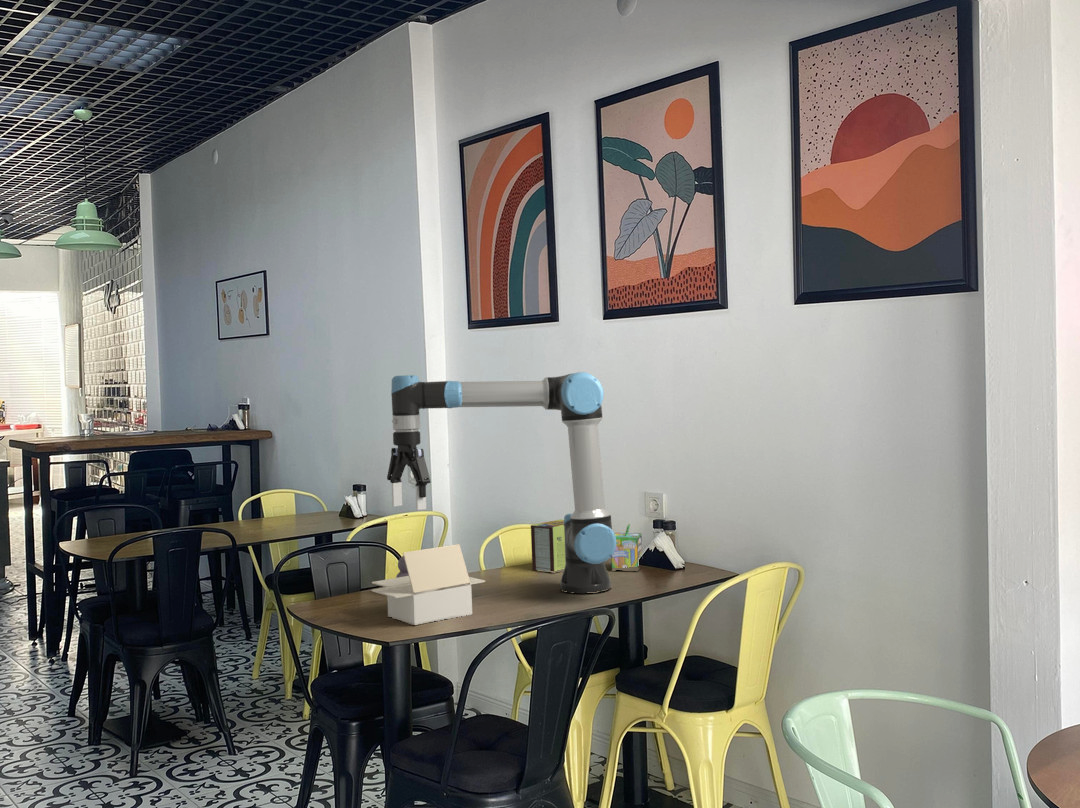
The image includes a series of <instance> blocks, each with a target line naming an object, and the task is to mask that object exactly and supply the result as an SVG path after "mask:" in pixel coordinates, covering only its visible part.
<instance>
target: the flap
mask: <svg viewBox="0 0 1080 808" xmlns="http://www.w3.org/2000/svg"><path fill="white" fill-rule="evenodd" d="M402 555H403V556H404V559H405V563H406V567H407V571H408V575H409V579H410V583H411V586H412V590H413V593H417V592H423V591H428V590H434V589H439V588H445V587H450V586H456V585H461V584H467V583H470V580H469V577H470V576H469V573H468V570H467V569H468V568H467V566H466V562H465V559H464V554H463V552H462V548H461V545H460V544H459V543H458V544H452V545H445V546H444V545H443V546H438V547H437V546H436V547H432V548H424V549H418V550H417V549H416V550H411V551H410V550H409V551H405V552H402Z"/></svg>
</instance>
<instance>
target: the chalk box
mask: <svg viewBox="0 0 1080 808" xmlns="http://www.w3.org/2000/svg"><path fill="white" fill-rule="evenodd" d="M630 526H631V524H630V523H629V524H628V525H627V526H626V530H625V532H614V534H615V537H616V549H615V551H614V553H613V555H612V556H611V557H610V558H611V569H612V568H625V567H626V568H627V567H628V568H629V567H638V566H639V559H640V557H641V555H642V556H643V544H642V543H643V539H642V538H643V537H642V536H643V534H642V532H629V531H630Z"/></svg>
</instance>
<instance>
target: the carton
mask: <svg viewBox="0 0 1080 808" xmlns="http://www.w3.org/2000/svg"><path fill="white" fill-rule="evenodd" d="M469 580H470V583H467V584H461V585H456V586H450V587H445V588H439V589H434V590H428V591H423V592H417V593H413V590H412V586H411V583H410V579H409V576H404V577H399V578H396V577H394V578H386V579H383V580H382V579H381V580H377V581H372V582H371V584H373V585H377V586H379V587H380V588H375V589H371V593H372V592H374V593H377V594H379V595H383V596H386V597H387V599H386V600H387V618H388V617H392V618H394V619H398V620H401V621H404V622H407V623H410V624H413V625H418V624H423V623H428V622H433V623H435V622H434V621H438V622H441V621H440V620H443V621H445V620H444V619H448V620H452V619H451V618H453V619H457V618H456V617H458V618H462V617H466V615H467V616H471V615H473V599H472V598H473V595H472V594H473V593H472V585H475V584H482V583H485V582H486V580H485V579H480V578H476V577H472V576H469ZM461 616H462V617H461ZM394 619H393V620H394ZM428 624H429V623H428Z"/></svg>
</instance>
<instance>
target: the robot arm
mask: <svg viewBox="0 0 1080 808" xmlns="http://www.w3.org/2000/svg"><path fill="white" fill-rule="evenodd" d="M390 392H391V394H390V395H391V412H392V419H391V422H392V430H393V431H394V432H393V433H392V443H393V445H394V446H397V447H391V449H390V453H391V457H390V461H389V464H388V465H389V466H388V471H387V476H386V479H387V481H390V483H391V497H392V499H391V500H392V507H399V506H403V490H402V489H403V488H402V487H403V485H402V479H401V478H402V476H403V474H404V470H405V469H406V466H407V467H409V469H410V471H411V473H412V476H413V478H414V480H415V482H416V484H415V506H416V507H415V508H416V511H419V510H420V511H421V510H427V492H426V491H427V485H428V484H431V477H430V474H429V470H428V466H427V463H426V459H425V452H424V449H423V448H418V447H417V445H420V444H421V432H420V431H419V430H420V429H421V419H420V417H421V416H420V415H421V414H420V410H421V409H422V410H424V409H455V408H500V407H501V408H504V407H505V408H506V407H507V408H508V407H509V408H510V407H511V408H512V407H513V408H514V407H516V408H517V407H542V408H543V409H544V410H553V411H555V410H556V411H560V414H561V422H562V423H563V425H565V426H566V427H567V433H568V435H567V436H568V445H569V446H568V447H569V457H570V467H571V480H572V492H573V503H574V511H573V513H567V514H565V515H564V518H563V520H564V524H563V525H564V534H565V568H564V571H563V572H562V575H561V579H560V583H559V585H560V591H561V590H563V591H567V592H574V593H587V592H597V591H602V590H606V589H609V588H610V587H611V588H612V584H611V583H612V582H611V577H610V575H609V572H608V570H607V566H606V564H605V562H606V561H608V560H609V559H610V558H611V556H612V555H613V553H614V551H615V549H616V537H615V532H614V530H613V525H612V514H611V512H610V511H609V510H608V509H606V505H605V495H604V483H603V473H602V462H601V459H602V457H601V448H600V438H599V437H600V436H599V423H600V422H601V421H602V419H603V406H602V404H603V401H604V398H605V397H604V394H605V393H604V388H603V386H602V384H601V382H600V380H599V379H598V378H596V376H594V375H592V374H591V373H589V372H584V371H578V372H574V373H568V374H565V375H560V376H552V377H550V376H549V377H547V376H546V377H544V378H543V379H542V380H508V381H507V380H506V381H505V380H502V381H501V380H496V381H494V380H493V381H489V380H488V381H459V380H444V381H442V380H441V381H440V380H439V381H420V380H419V376H418V375H416V374H414V375H413V374H412V375H411V374H410V375H408V374H407V375H406V374H405V375H395V376H393V377H392V379H391V391H390ZM563 591H562V592H563Z"/></svg>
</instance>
